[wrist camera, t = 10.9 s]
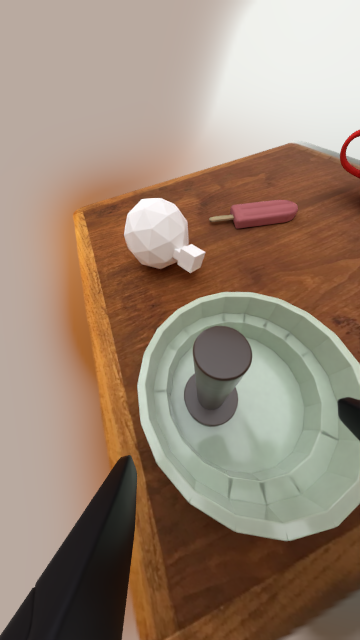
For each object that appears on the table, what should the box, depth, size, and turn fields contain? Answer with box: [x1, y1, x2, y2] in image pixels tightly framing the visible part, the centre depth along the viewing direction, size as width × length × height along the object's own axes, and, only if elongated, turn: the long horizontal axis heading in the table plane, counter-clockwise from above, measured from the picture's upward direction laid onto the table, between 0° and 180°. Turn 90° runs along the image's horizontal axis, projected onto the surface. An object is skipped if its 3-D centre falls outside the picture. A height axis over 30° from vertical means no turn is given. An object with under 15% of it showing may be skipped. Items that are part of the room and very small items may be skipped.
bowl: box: [137, 292, 360, 541], centre depth 15 cm, size 15×15×6 cm
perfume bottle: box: [124, 198, 205, 273], centre depth 25 cm, size 9×9×12 cm
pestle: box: [184, 326, 252, 427], centre depth 12 cm, size 4×4×12 cm
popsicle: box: [209, 200, 298, 229], centre depth 32 cm, size 5×2×15 cm
